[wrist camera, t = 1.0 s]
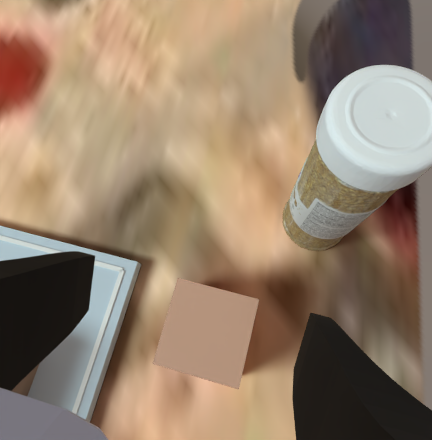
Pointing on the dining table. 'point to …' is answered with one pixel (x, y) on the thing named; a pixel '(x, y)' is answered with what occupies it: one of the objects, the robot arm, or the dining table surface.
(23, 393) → the frame
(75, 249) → the board
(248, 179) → the dining table surface
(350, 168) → the spice jar
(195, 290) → the terracotta block
